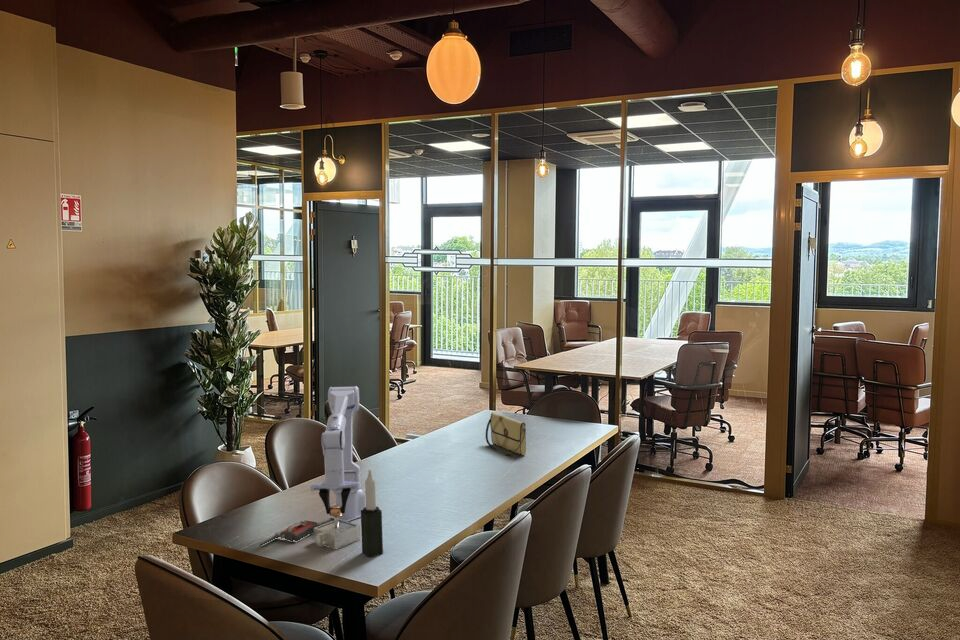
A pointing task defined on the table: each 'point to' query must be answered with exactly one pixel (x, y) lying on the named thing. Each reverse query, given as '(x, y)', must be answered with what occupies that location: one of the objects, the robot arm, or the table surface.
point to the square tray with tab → (336, 535)
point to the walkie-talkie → (295, 531)
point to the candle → (371, 521)
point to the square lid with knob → (336, 521)
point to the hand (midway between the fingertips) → (336, 512)
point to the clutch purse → (507, 433)
